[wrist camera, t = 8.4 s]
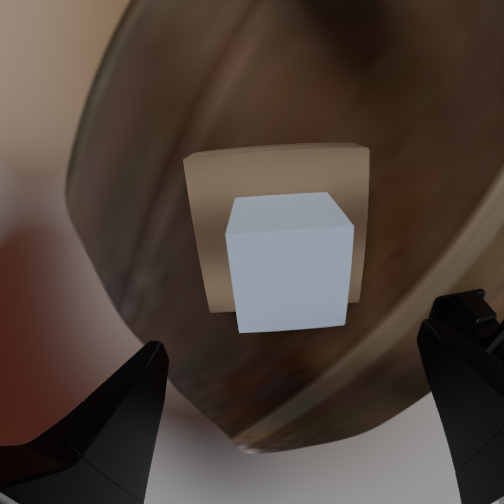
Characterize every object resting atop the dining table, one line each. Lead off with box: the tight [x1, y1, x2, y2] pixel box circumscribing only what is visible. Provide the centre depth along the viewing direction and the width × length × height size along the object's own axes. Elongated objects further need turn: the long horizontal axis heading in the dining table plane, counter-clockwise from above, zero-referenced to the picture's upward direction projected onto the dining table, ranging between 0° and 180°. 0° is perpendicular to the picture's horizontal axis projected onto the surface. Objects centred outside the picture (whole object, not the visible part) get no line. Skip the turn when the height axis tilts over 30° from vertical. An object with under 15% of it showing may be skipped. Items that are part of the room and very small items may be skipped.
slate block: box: [225, 192, 354, 333], centre depth 14 cm, size 5×5×5 cm
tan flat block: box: [183, 143, 369, 312], centre depth 18 cm, size 10×10×3 cm
